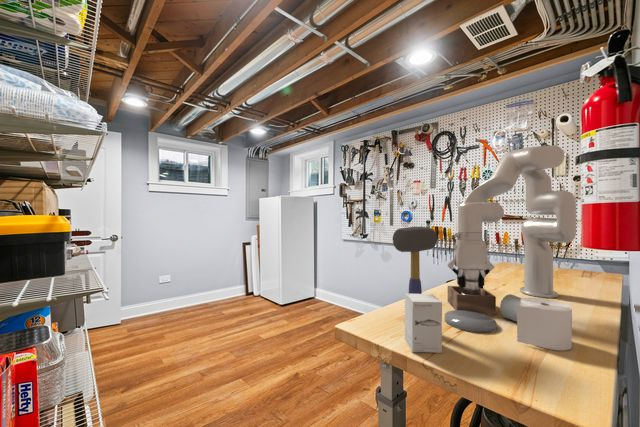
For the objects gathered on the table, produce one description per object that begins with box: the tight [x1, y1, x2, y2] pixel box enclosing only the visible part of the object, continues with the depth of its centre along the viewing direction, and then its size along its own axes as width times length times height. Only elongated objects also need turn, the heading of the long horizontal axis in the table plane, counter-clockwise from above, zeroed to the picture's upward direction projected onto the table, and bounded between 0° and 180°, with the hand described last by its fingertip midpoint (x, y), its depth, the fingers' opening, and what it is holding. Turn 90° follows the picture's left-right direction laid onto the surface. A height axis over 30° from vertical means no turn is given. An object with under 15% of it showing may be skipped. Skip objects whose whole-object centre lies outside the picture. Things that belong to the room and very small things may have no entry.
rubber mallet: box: [392, 226, 438, 294], centre depth 83 cm, size 12×8×30 cm, turn 119°
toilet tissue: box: [516, 297, 573, 351], centre depth 73 cm, size 11×12×10 cm
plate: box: [444, 309, 498, 334], centre depth 85 cm, size 14×14×2 cm
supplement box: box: [404, 293, 443, 354], centre depth 71 cm, size 7×7×13 cm
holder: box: [447, 285, 497, 315], centre depth 99 cm, size 12×12×6 cm
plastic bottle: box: [461, 264, 480, 295], centre depth 99 cm, size 6×7×20 cm
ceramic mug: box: [499, 294, 523, 323], centre depth 87 cm, size 11×8×8 cm
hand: (470, 286), depth 99 cm, fingers closed on plastic bottle, 5 cm apart
